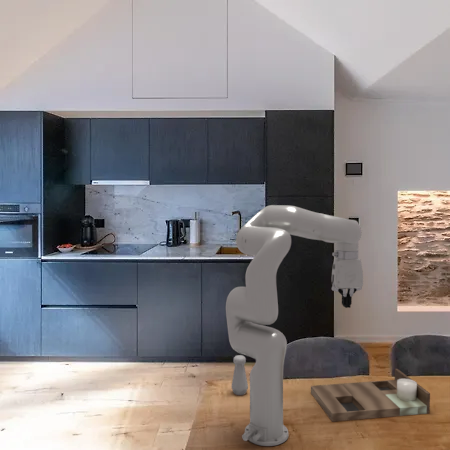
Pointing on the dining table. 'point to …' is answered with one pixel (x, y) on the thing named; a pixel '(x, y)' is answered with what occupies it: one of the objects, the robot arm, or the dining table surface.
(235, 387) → the salt shaker
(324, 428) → the dining table surface
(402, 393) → the white cup
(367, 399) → the board
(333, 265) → the robot arm
